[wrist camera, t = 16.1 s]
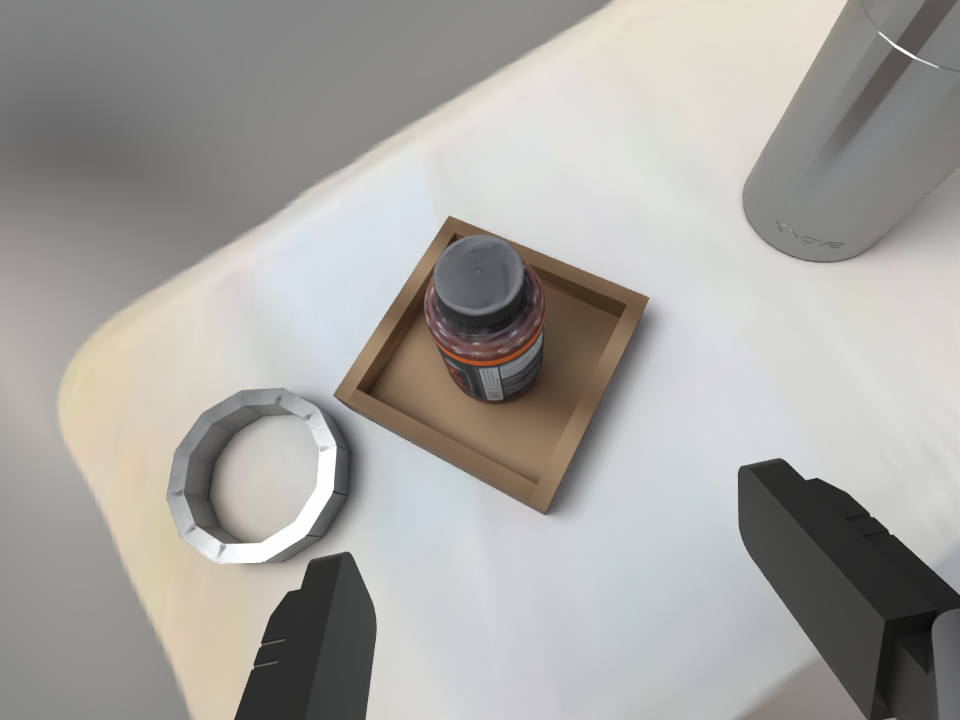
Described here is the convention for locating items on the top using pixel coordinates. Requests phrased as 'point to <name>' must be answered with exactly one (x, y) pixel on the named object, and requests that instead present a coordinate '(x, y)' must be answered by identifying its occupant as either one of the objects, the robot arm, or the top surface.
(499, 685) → the top surface
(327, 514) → the holder ring
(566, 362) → the tray
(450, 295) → the supplement bottle
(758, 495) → the robot arm
